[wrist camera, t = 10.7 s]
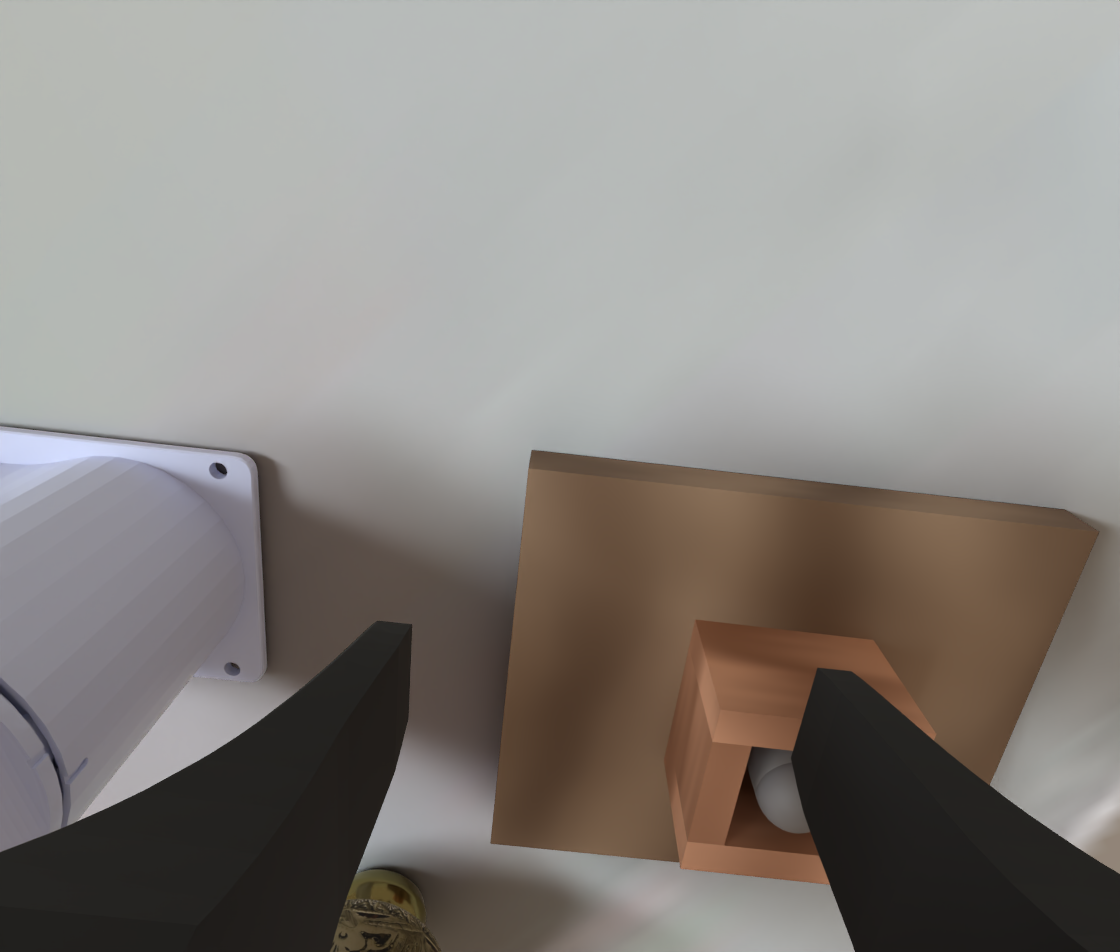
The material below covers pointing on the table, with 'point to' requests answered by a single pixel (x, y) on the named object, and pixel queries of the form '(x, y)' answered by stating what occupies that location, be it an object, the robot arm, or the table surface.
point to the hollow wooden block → (753, 740)
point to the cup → (383, 916)
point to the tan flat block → (755, 600)
